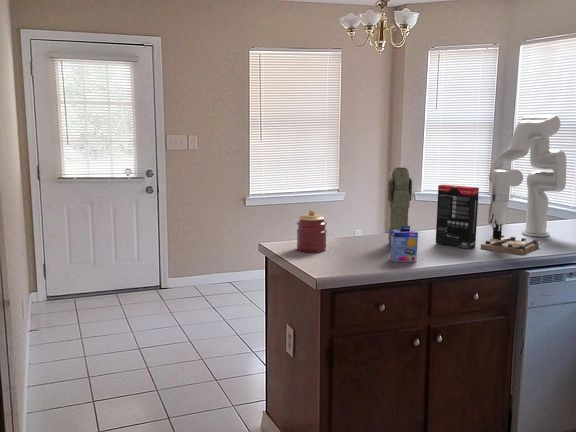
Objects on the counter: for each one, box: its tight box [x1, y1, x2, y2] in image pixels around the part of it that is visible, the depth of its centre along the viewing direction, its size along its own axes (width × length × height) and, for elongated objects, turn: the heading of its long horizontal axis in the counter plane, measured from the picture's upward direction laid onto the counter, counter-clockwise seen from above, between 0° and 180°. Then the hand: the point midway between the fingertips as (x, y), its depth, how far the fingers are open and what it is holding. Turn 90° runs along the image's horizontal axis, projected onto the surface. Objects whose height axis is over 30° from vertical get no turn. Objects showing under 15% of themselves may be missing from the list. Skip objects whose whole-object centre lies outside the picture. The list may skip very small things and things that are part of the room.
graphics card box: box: [435, 184, 480, 250], centre depth 253 cm, size 17×7×27 cm, turn 47°
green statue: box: [387, 167, 413, 246], centre depth 254 cm, size 9×12×35 cm
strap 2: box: [512, 239, 533, 247], centre depth 247 cm, size 16×3×1 cm, turn 137°
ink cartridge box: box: [389, 225, 419, 263], centre depth 226 cm, size 10×6×14 cm, turn 95°
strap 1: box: [489, 236, 511, 243], centre depth 253 cm, size 16×3×1 cm, turn 137°
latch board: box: [480, 234, 540, 256], centre depth 250 cm, size 20×18×4 cm
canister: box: [296, 209, 328, 253], centre depth 245 cm, size 13×13×18 cm
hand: (496, 239), depth 250 cm, fingers closed
